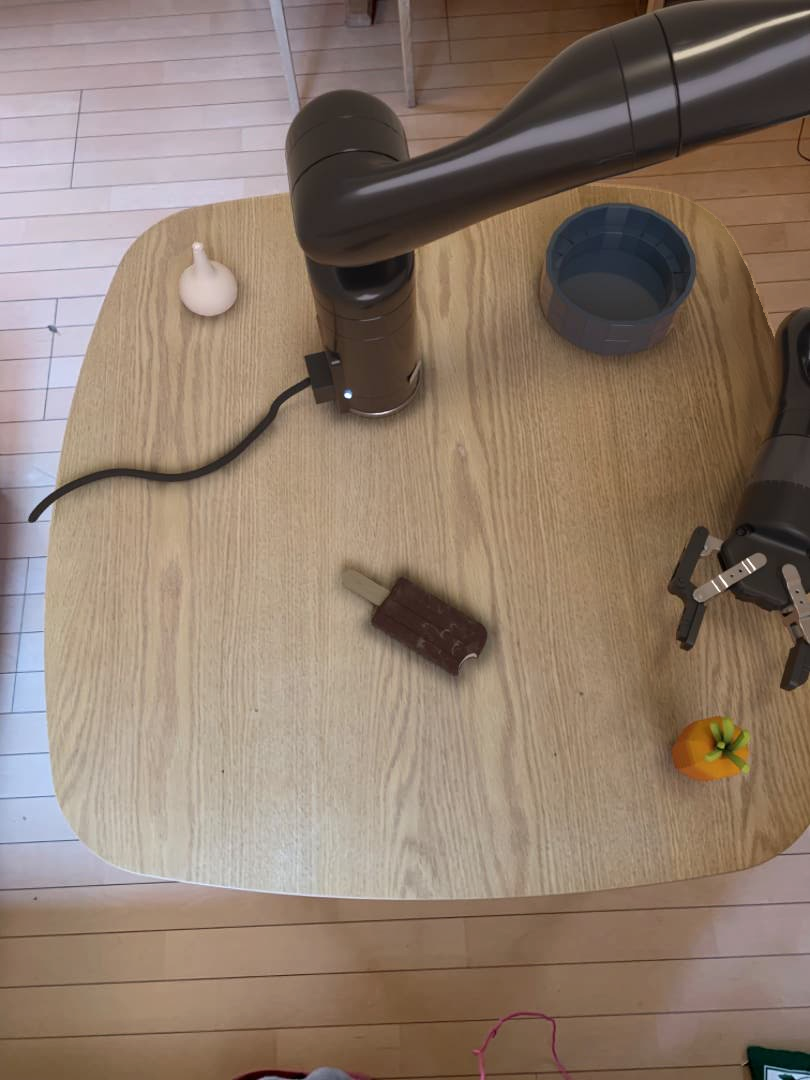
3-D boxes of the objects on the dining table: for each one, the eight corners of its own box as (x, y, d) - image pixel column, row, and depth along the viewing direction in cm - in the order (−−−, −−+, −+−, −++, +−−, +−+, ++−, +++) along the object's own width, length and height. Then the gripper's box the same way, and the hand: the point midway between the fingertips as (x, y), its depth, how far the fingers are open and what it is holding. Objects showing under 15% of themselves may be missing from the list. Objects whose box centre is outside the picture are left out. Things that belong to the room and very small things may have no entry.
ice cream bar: (329, 599, 82) (463, 681, 79) (327, 594, 80) (464, 678, 77) (359, 555, 83) (492, 634, 80) (358, 549, 82) (493, 630, 78)
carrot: (707, 794, 74) (771, 781, 60) (650, 782, 75) (700, 767, 61) (712, 738, 76) (775, 712, 62) (656, 726, 77) (705, 699, 62)
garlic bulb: (172, 305, 94) (149, 258, 86) (205, 265, 96) (186, 215, 88) (218, 330, 93) (199, 284, 85) (251, 289, 94) (235, 240, 87)
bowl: (564, 373, 89) (573, 340, 84) (521, 258, 95) (527, 221, 89) (701, 339, 90) (719, 305, 85) (651, 227, 95) (664, 188, 90)
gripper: (721, 453, 72) (664, 624, 67) (891, 512, 70) (844, 694, 65) (696, 488, 79) (642, 645, 74) (849, 543, 77) (804, 709, 72)
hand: (736, 668), depth 70 cm, fingers open, 8 cm apart
